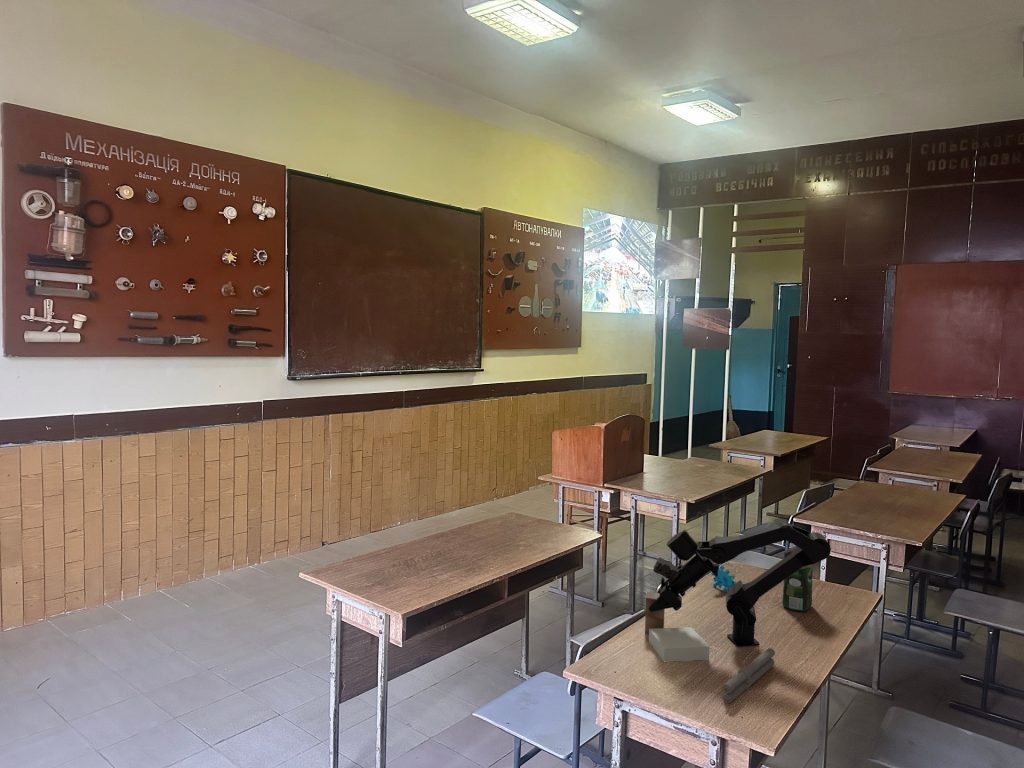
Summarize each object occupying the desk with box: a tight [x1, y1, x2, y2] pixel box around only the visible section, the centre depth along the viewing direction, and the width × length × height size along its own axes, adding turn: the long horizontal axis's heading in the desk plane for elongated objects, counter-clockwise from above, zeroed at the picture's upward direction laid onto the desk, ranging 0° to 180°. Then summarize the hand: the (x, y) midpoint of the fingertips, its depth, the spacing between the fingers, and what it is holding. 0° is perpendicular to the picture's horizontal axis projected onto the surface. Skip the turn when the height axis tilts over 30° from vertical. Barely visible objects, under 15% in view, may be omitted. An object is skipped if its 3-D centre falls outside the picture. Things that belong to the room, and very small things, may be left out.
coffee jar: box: [781, 545, 814, 612], centre depth 215 cm, size 10×8×19 cm
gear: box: [710, 565, 737, 593], centre depth 231 cm, size 11×6×10 cm
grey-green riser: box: [648, 626, 710, 662], centre depth 184 cm, size 12×12×4 cm
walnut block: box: [644, 591, 666, 634], centre depth 196 cm, size 5×5×10 cm
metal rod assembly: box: [722, 647, 776, 704], centre depth 166 cm, size 26×3×5 cm, turn 138°
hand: (650, 606), depth 196 cm, fingers closed on walnut block, 5 cm apart
